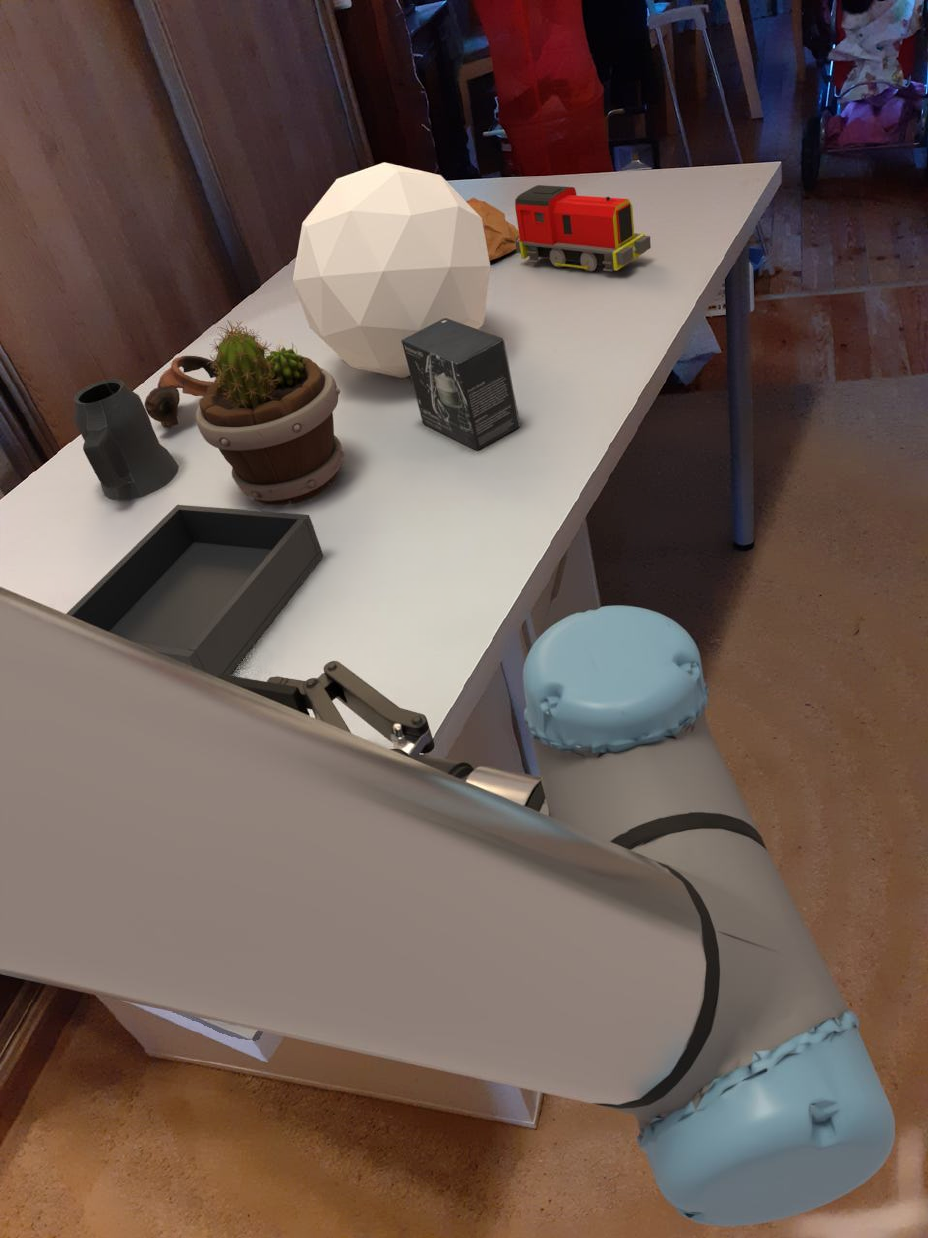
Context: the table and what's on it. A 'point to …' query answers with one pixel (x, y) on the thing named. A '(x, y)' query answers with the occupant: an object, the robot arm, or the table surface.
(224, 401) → the flowerpot
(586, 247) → the toy train
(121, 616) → the tub
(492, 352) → the box
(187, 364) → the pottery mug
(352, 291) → the lamp
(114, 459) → the mug
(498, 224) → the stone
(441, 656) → the table surface
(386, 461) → the table surface
